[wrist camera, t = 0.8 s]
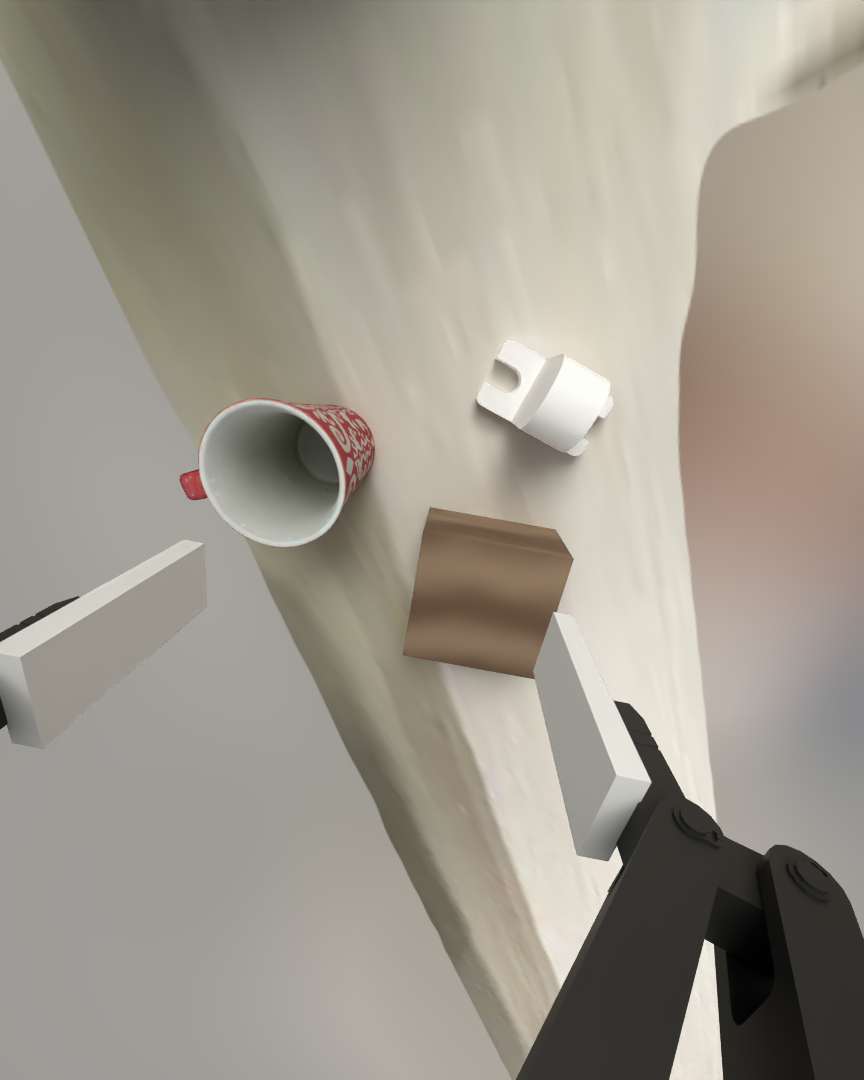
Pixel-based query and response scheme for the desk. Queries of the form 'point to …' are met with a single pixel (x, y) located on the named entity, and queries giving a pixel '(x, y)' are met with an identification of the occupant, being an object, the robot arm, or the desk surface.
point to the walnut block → (485, 592)
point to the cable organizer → (549, 397)
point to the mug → (281, 468)
